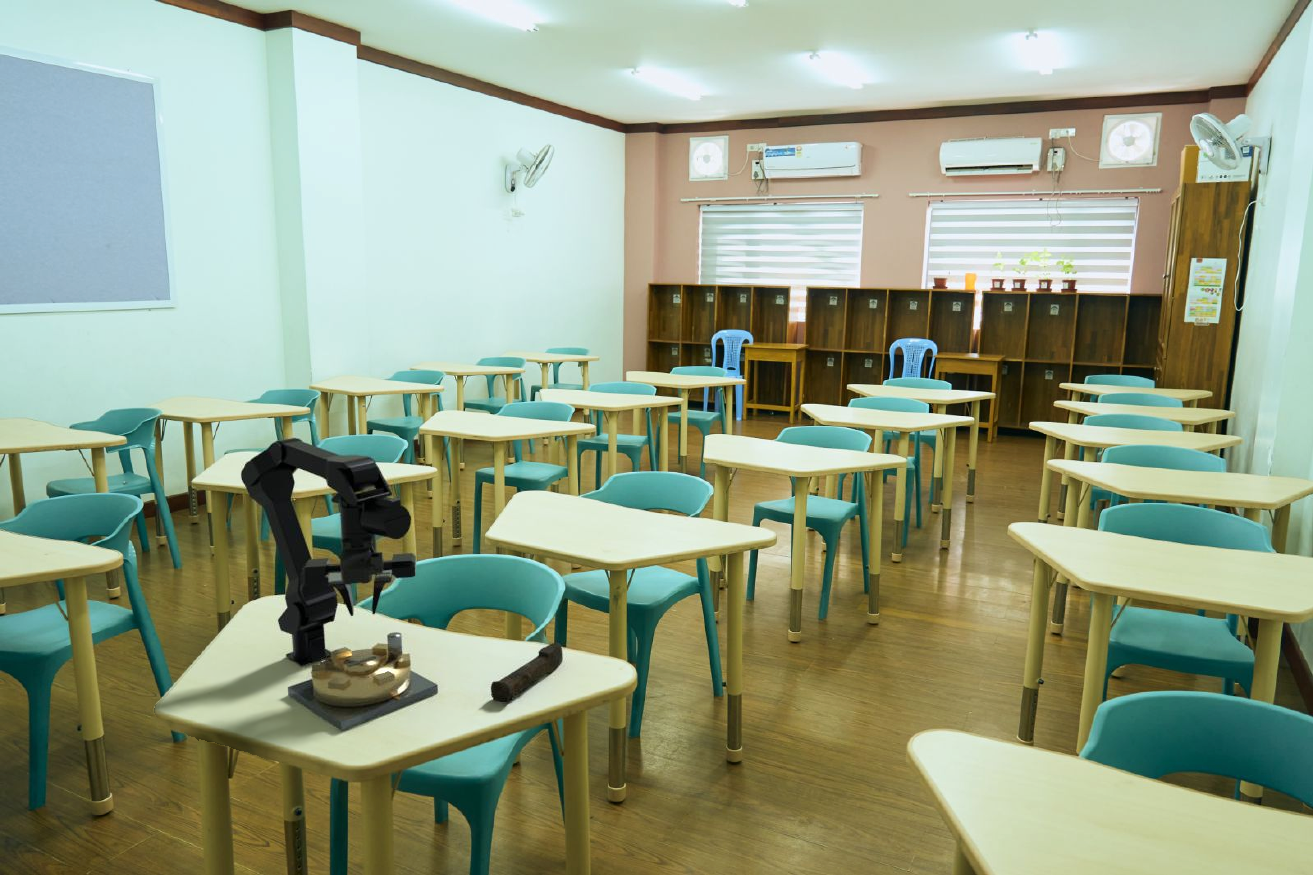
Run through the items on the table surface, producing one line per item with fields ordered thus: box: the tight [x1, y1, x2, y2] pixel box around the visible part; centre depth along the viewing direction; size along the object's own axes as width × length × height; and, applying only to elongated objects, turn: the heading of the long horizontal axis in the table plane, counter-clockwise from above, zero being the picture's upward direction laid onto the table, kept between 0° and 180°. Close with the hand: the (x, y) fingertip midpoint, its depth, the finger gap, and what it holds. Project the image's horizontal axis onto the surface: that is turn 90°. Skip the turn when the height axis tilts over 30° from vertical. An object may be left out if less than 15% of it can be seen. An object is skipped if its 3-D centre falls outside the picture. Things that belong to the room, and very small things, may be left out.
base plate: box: [287, 670, 439, 732], centre depth 153 cm, size 18×18×2 cm
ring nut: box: [310, 631, 412, 707], centre depth 152 cm, size 16×16×7 cm
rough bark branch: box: [490, 642, 564, 704], centre depth 158 cm, size 19×4×5 cm, turn 149°
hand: (363, 614), depth 157 cm, fingers open, 3 cm apart
